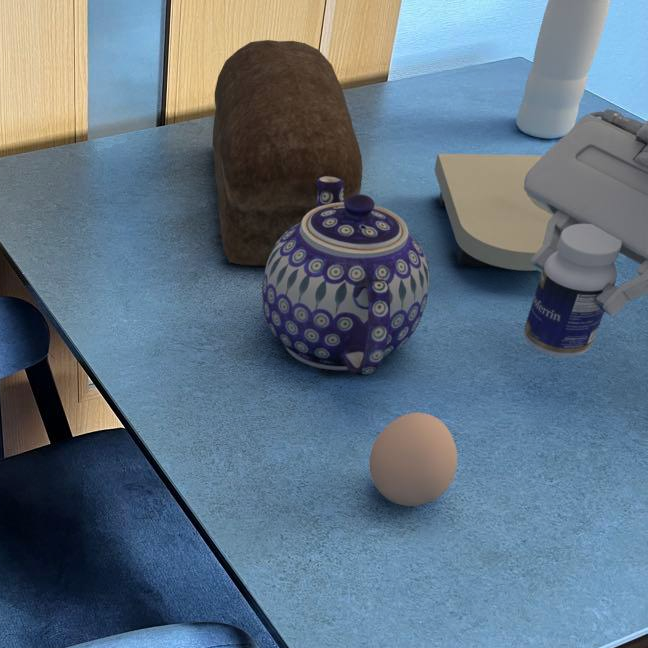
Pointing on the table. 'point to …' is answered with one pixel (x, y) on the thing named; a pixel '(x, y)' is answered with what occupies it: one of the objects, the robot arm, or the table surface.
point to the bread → (277, 143)
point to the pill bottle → (572, 291)
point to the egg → (413, 459)
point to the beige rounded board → (491, 209)
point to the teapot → (345, 283)
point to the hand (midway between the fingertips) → (569, 289)
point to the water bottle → (561, 66)
